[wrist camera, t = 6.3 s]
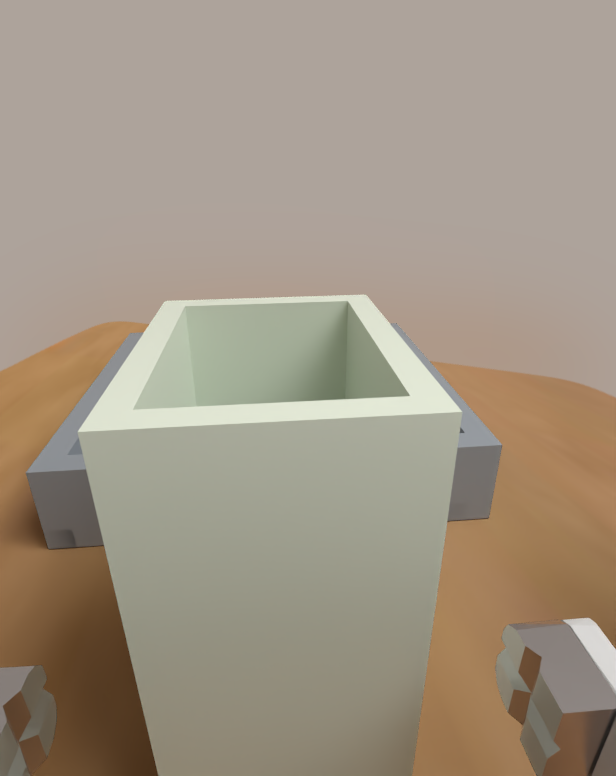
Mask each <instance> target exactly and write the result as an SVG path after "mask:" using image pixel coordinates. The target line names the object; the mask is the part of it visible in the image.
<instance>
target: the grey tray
mask: <svg viewBox="0 0 616 776" xmlns="http://www.w3.org/2000/svg"><path fill="white" fill-rule="evenodd" d="M390 325H391V326H392V327H393V328H394V330H395V331H396V332H397V333H398V334H399V336H400V337H401V338H402V339H403V340H404V342H405V343H406V344H407V345H408V346H409V348H410V349H411V350H412V351H413V353H414V354H415V355H416V356H417V357H418V359H419V360H420V361H421V362H422V363H423V365H424V366H425V367H426V368H427V370H428V371H429V372H430V373H431V374H432V376H433V377H434V378H435V379H436V380H437V382H438V383H439V384H440V385H441V387H442V388H443V389H444V390H445V391H446V393H447V394H448V395H449V396H450V397H451V399H452V400H453V401H454V402H455V403H456V405H457V406H458V407H459V408H460V410H461V411H462V419H461V426H460V433H459V440H458V448H457V455H456V462H455V469H454V476H453V484H452V491H451V498H450V505H449V513H448V520H447V521H453V520H467V519H481V518H489V515H490V509H491V504H492V498H493V493H494V487H495V482H496V476H497V471H498V465H499V460H500V454H501V449H502V444H501V443H500V442H499V441H498V440H497V438H496V437H495V436H494V435H493V434H492V433H491V432H490V430H489V429H488V428H487V427H486V426H485V425H484V423H483V422H482V421H481V420H480V419H479V418H478V417H477V415H476V414H475V413H474V412H473V411H472V410H471V409H470V407H469V406H468V405H467V404H466V403H465V402H464V400H463V399H462V398H461V397H460V396H459V395H458V394H457V392H456V391H455V390H454V389H453V388H452V387H451V386H450V384H449V383H448V382H447V381H446V380H445V379H444V377H443V376H442V375H441V374H440V373H439V372H438V371H437V369H436V368H435V367H434V366H433V365H432V364H431V362H430V361H429V360H428V359H427V358H426V357H425V356H424V354H423V353H422V352H421V351H420V350H419V349H418V348H417V346H416V345H415V344H414V343H413V342H412V341H411V339H410V338H409V337H408V336H407V335H406V334H405V333H404V332H403V330H402V329H401V328H400V327H399V326H398V325H397V323H396V324H395V323H394V324H390ZM142 335H143V333H130V334H129V336H128V337H127V338H126V340H125V341H124V342H123V344H122V345H121V346H120V348H119V349H118V350H117V352H116V353H115V354H114V356H113V357H112V358H111V360H110V361H109V362H108V364H107V365H106V366H105V368H104V369H103V370H102V372H101V373H100V374H99V376H98V377H97V378H96V380H95V381H94V382H93V384H92V385H91V386H90V388H89V389H88V390H87V392H86V393H85V394H84V396H83V397H82V398H81V400H80V401H79V402H78V404H77V405H76V406H75V408H74V409H73V410H72V412H71V413H70V414H69V416H68V417H67V418H66V420H65V421H64V422H63V424H62V425H61V426H60V428H59V429H58V430H57V432H56V433H55V434H54V436H53V437H52V438H51V440H50V441H49V443H48V444H47V445H46V447H45V448H44V449H43V451H42V452H41V453H40V455H39V456H38V457H37V459H36V460H35V461H34V463H33V464H32V465H31V467H30V468H29V469H28V471H27V472H26V475H27V479H28V482H29V485H30V489H31V492H32V495H33V499H34V502H35V505H36V509H37V512H38V515H39V519H40V522H41V526H42V529H43V532H44V536H45V539H46V542H47V546H48V549H57V548H71V547H86V546H100V545H104V543H103V539H102V534H101V530H100V526H99V522H98V517H97V513H96V509H95V505H94V500H93V496H92V492H91V488H90V483H89V479H88V475H87V471H86V466H85V462H84V458H83V454H82V449H81V445H80V441H79V437H78V430H79V429H80V427H81V426H82V424H83V423H84V421H85V420H86V418H87V417H88V415H89V414H90V412H91V411H92V409H93V408H94V407H95V405H96V404H97V402H98V401H99V399H100V398H101V396H102V395H103V393H104V392H105V390H106V389H107V387H108V386H109V384H110V383H111V381H112V380H113V378H114V377H115V375H116V374H117V372H118V371H119V369H120V368H121V366H122V365H123V363H124V362H125V360H126V359H127V357H128V356H129V354H130V353H131V351H132V350H133V348H134V347H135V345H136V344H137V342H138V341H139V339H140V338H141V336H142Z"/></svg>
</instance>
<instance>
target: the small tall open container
mask: <svg viewBox="0 0 616 776" xmlns="http://www.w3.org/2000/svg"><path fill="white" fill-rule="evenodd" d="M461 419H462V411H461V410H460V408H459V407H458V406H457V405H456V403H455V402H454V401H453V400H452V399H451V397H450V396H449V395H448V394H447V393H446V391H445V390H444V389H443V388H442V387H441V385H440V384H439V383H438V382H437V380H436V379H435V378H434V377H433V376H432V374H431V373H430V372H429V371H428V370H427V368H426V367H425V366H424V365H423V363H422V362H421V361H420V360H419V359H418V357H417V356H416V355H415V354H414V353H413V351H412V350H411V349H410V348H409V346H408V345H407V344H406V343H405V342H404V340H403V339H402V338H401V337H400V336H399V334H398V333H397V332H396V331H395V330H394V328H393V327H392V326H391V325H390V323H389V322H388V321H387V320H386V319H385V317H384V316H383V315H382V314H381V313H380V311H379V310H378V309H377V308H376V306H375V305H374V304H373V303H372V302H371V300H370V299H369V298H368V297H367V296H366V295H342V296H310V297H279V298H246V299H215V300H183V301H165V302H164V303H163V305H162V306H161V308H160V309H159V311H158V313H157V314H156V315H155V317H154V318H153V320H152V322H151V323H150V324H149V326H148V327H147V329H146V330H145V332H144V333H143V335H142V336H141V338H140V339H139V341H138V342H137V344H136V345H135V347H134V348H133V350H132V351H131V353H130V354H129V356H128V357H127V359H126V360H125V362H124V363H123V365H122V366H121V368H120V369H119V371H118V372H117V374H116V375H115V377H114V378H113V380H112V381H111V383H110V384H109V386H108V387H107V389H106V390H105V392H104V393H103V395H102V396H101V398H100V399H99V401H98V402H97V404H96V405H95V407H94V408H93V409H92V411H91V412H90V414H89V415H88V417H87V418H86V420H85V421H84V423H83V424H82V426H81V427H80V429H79V430H78V437H79V441H80V445H81V449H82V454H83V458H84V462H85V466H86V471H87V475H88V479H89V483H90V488H91V492H92V496H93V500H94V505H95V509H96V513H97V517H98V522H99V526H100V530H101V534H102V539H103V543H104V547H105V551H106V556H107V560H108V564H109V568H110V573H111V577H112V581H113V585H114V590H115V594H116V598H117V602H118V607H119V611H120V615H121V619H122V624H123V628H124V632H125V636H126V641H127V645H128V649H129V653H130V658H131V662H132V666H133V670H134V675H135V679H136V683H137V687H138V692H139V696H140V700H141V704H142V709H143V713H144V717H145V721H146V726H147V730H148V734H149V738H150V743H151V747H152V751H153V755H154V760H155V764H156V768H157V772H158V776H412V772H413V765H414V758H415V751H416V743H417V736H418V729H419V722H420V714H421V707H422V700H423V693H424V686H425V678H426V671H427V664H428V657H429V650H430V642H431V635H432V628H433V621H434V613H435V606H436V599H437V592H438V585H439V577H440V570H441V563H442V556H443V549H444V541H445V534H446V527H447V520H448V513H449V505H450V498H451V491H452V484H453V476H454V469H455V462H456V455H457V448H458V440H459V433H460V426H461Z"/></svg>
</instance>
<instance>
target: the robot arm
mask: <svg viewBox="0 0 616 776" xmlns="http://www.w3.org/2000/svg"><path fill="white" fill-rule="evenodd" d="M501 639H502V641H503V643H504V645H505V647H506V648H505V649H504V650H503V651H502V652H501V653H500V654H499V655H498V656H497V662H496V667H495V670H496V678H497V685H498V689H499V692H500V695H501V698H502V701H503V703H504V705H505V707H506V710H507V712H508V713H509V714H510V715H511V716H512V717H513V718H515V719H516V720H517V721H518V722H519V723H521V724H522V730H521V736H520V741H521V743H522V745H523V747H524V749H525V752H526V754H527V756H528V758H529V760H530V763H531V765H532V767H533V769H534V771H535V773H536V776H616V649H615V648H614V647H613V645H612V644H611V643H610V641H609V640H608V639H607V637H606V636H605V635H604V633H603V632H602V630H601V629H600V628H599V626H598V625H597V624H596V623H595V622H594V621H592V620H591V619H590V618H578V619H568V620H548V621H538V622H529V623H519V624H509V625H507V626H506V627H505V628H504V630H503V634H502V638H501ZM46 680H47V676H46V674H45V671H44V669H43V667H42V665H36V666H20V667H4V668H0V776H32V774H33V773H34V772H35V771H36V770H37V768H38V767H39V766H40V765H41V764H42V763H43V762H44V761H45V760H46V759H47V757H48V754H49V751H50V748H51V745H52V742H53V739H54V734H55V728H56V722H57V709H56V702H55V699H54V696H53V695H52V694H51V693H49V692H47V691H46V690H44V689H43V687H44V685H45V682H46Z"/></svg>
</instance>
